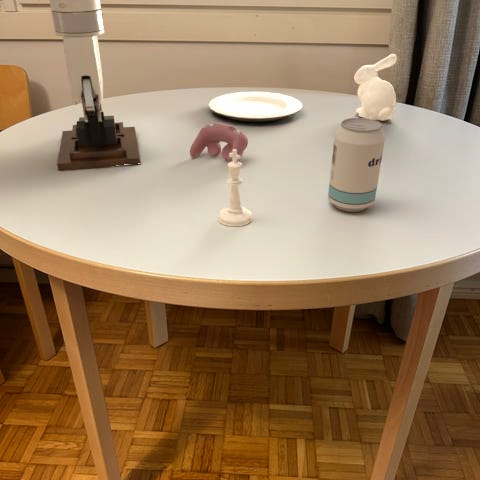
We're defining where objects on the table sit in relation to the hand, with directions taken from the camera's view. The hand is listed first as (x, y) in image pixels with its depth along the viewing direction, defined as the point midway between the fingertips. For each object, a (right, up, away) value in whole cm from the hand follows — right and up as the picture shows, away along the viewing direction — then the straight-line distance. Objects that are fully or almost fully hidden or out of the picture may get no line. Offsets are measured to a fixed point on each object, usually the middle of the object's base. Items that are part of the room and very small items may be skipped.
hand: (97, 138), depth 93 cm
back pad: (0, 0, 0) cm, 0 cm away
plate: (+29, +14, +25) cm, 41 cm away
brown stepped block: (-1, 0, +5) cm, 5 cm away
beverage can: (+42, -15, -14) cm, 46 cm away
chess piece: (+24, -18, -17) cm, 35 cm away
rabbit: (+54, +13, +24) cm, 61 cm away
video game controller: (+21, -3, +2) cm, 22 cm away
